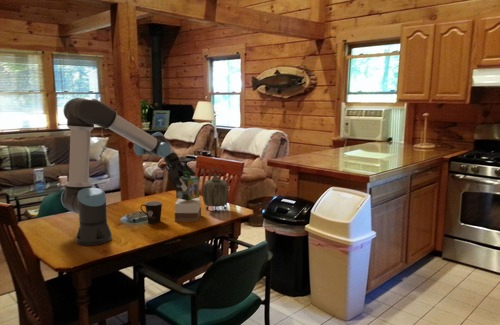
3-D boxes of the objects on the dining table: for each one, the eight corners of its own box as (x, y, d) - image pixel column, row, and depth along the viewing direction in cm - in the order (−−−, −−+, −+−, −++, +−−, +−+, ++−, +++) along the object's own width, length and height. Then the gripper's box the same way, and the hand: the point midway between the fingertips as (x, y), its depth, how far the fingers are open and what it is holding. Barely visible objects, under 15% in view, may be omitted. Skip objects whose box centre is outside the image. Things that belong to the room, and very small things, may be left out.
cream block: (197, 213, 205) (197, 203, 204) (175, 213, 205) (175, 203, 204) (200, 206, 217) (200, 198, 216) (178, 206, 217) (178, 198, 216)
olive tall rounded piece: (228, 208, 230) (228, 167, 226) (228, 213, 221) (227, 170, 217) (204, 208, 230) (203, 167, 226) (202, 213, 221) (202, 170, 217)
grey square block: (197, 222, 205) (197, 213, 204) (175, 222, 206) (174, 213, 205) (201, 215, 217) (201, 207, 216) (180, 215, 218) (179, 206, 217)
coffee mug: (165, 221, 205) (165, 203, 204) (151, 225, 199) (151, 206, 198) (153, 216, 213) (152, 199, 212) (139, 220, 207) (138, 202, 205)
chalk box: (199, 197, 211) (199, 170, 209) (188, 200, 203) (188, 173, 201) (186, 195, 216) (186, 169, 214) (175, 198, 208) (175, 171, 206)
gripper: (179, 158, 224) (201, 188, 218) (151, 163, 206) (174, 196, 200) (186, 149, 220) (208, 180, 214) (158, 154, 202) (181, 187, 196)
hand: (192, 188), depth 207 cm, fingers closed on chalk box, 9 cm apart
